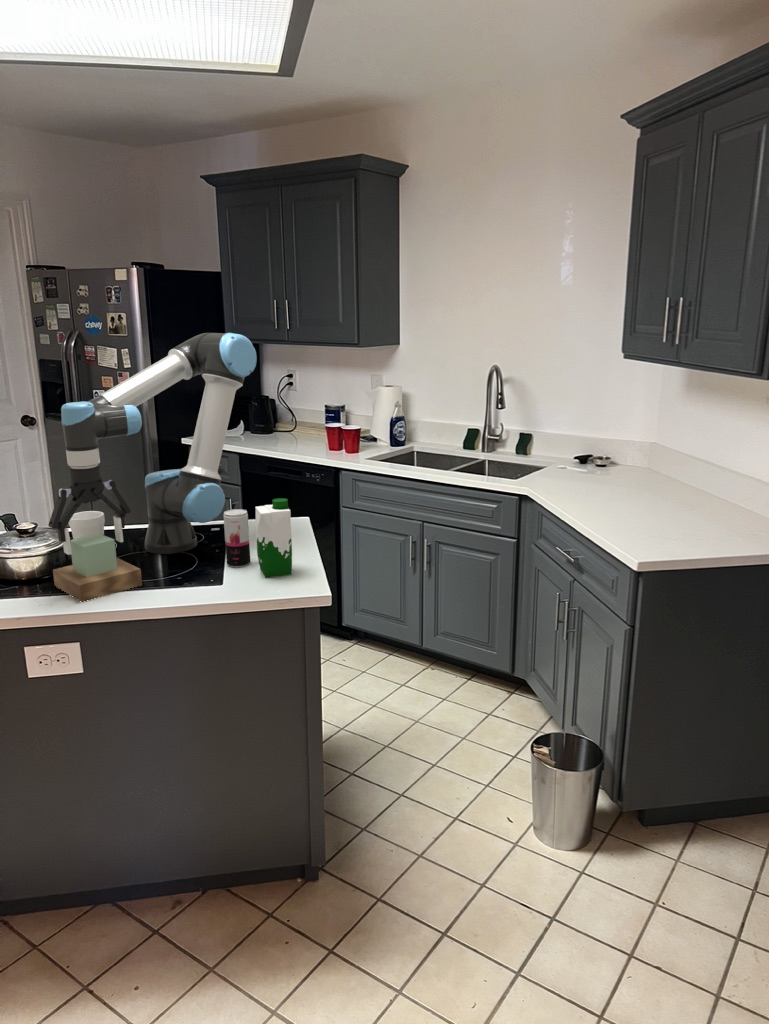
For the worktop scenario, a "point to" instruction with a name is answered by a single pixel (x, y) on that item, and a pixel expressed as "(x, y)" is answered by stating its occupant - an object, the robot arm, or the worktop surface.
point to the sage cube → (93, 555)
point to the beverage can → (237, 538)
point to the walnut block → (97, 581)
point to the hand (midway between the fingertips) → (94, 547)
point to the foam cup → (87, 524)
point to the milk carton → (274, 538)
